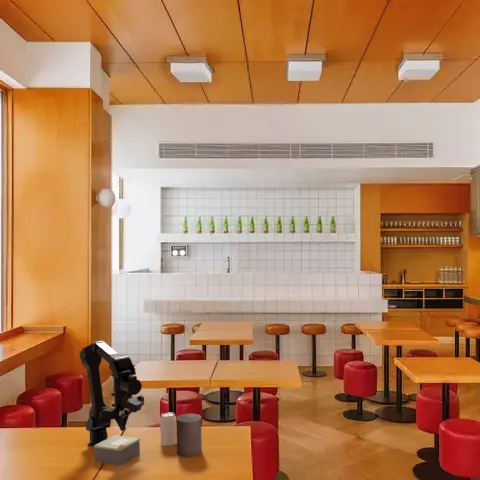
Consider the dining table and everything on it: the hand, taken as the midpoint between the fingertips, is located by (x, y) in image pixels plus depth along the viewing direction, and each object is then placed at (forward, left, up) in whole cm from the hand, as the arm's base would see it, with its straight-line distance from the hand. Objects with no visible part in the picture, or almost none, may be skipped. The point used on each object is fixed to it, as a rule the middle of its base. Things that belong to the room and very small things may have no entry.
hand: (122, 430), depth 219 cm
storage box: (-2, -1, -10) cm, 10 cm away
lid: (-2, -1, -5) cm, 5 cm away
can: (+8, +19, -10) cm, 23 cm away
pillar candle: (+21, +14, -11) cm, 27 cm away
